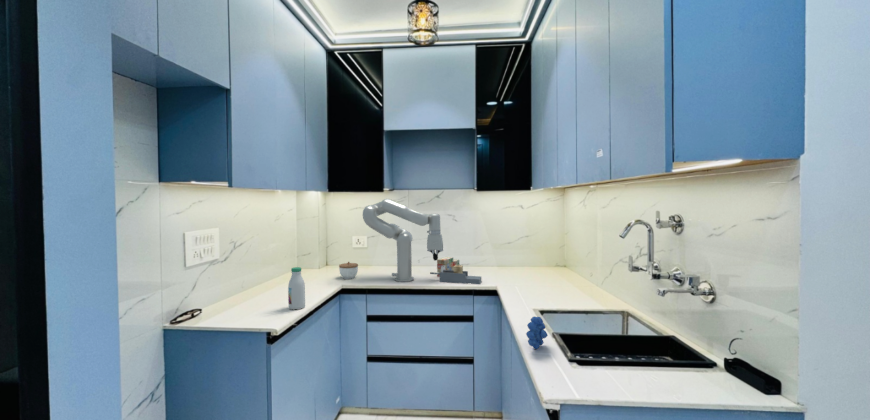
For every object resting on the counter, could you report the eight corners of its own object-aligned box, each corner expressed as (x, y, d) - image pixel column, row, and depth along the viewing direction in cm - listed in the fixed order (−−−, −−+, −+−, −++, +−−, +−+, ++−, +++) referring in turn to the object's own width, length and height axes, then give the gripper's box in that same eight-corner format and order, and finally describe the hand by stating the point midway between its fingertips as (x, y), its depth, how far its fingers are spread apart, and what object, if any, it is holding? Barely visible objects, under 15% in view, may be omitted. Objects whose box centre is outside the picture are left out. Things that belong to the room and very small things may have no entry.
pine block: (453, 277, 228) (453, 266, 228) (455, 275, 233) (455, 265, 233) (461, 277, 227) (461, 266, 227) (462, 276, 232) (462, 265, 232)
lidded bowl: (360, 275, 248) (359, 260, 247) (355, 280, 235) (355, 263, 235) (342, 275, 248) (341, 260, 247) (336, 280, 235) (336, 263, 235)
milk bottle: (307, 305, 180) (306, 266, 179) (301, 310, 172) (301, 269, 171) (292, 305, 180) (291, 266, 179) (285, 310, 172) (285, 269, 171)
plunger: (429, 275, 232) (429, 266, 232) (431, 273, 238) (431, 264, 238) (443, 276, 230) (443, 266, 230) (445, 274, 236) (445, 265, 235)
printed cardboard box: (452, 271, 262) (452, 254, 262) (459, 272, 259) (459, 255, 259) (437, 276, 244) (436, 259, 244) (444, 277, 241) (444, 259, 241)
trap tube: (439, 281, 229) (439, 272, 229) (442, 278, 238) (442, 269, 237) (479, 284, 222) (479, 274, 222) (481, 281, 231) (481, 271, 230)
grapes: (539, 357, 120) (540, 322, 120) (521, 351, 125) (522, 318, 124) (554, 346, 129) (554, 314, 128) (537, 341, 133) (537, 310, 133)
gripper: (422, 233, 232) (423, 260, 232) (444, 233, 228) (445, 261, 229) (425, 232, 239) (426, 258, 240) (447, 232, 235) (447, 259, 236)
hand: (435, 260), depth 234 cm, fingers closed
